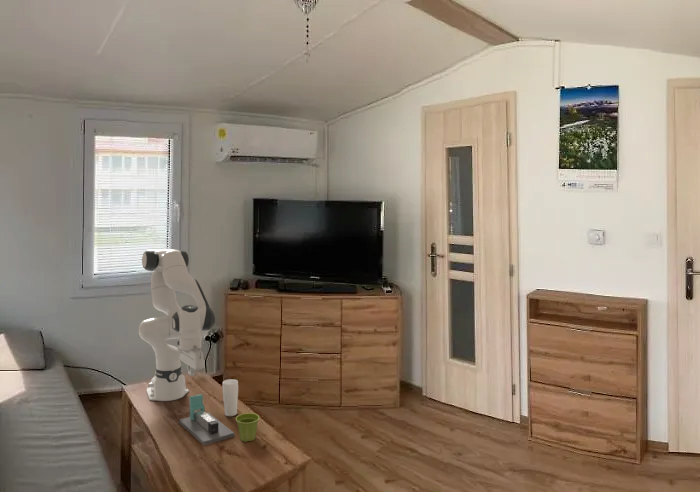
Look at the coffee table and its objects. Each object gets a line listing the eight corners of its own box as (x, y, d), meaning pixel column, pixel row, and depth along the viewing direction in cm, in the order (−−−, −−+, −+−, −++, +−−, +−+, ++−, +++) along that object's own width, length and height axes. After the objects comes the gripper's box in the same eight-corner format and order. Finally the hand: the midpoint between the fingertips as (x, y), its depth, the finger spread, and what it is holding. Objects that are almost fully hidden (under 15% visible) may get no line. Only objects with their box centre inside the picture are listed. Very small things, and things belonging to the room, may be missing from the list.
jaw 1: (195, 420, 230) (195, 411, 229) (199, 419, 231) (199, 410, 230) (211, 434, 217) (211, 424, 217) (215, 433, 218) (214, 423, 218)
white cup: (234, 418, 237) (234, 384, 235) (220, 416, 238) (219, 383, 237) (241, 412, 243) (240, 379, 242) (226, 410, 245) (226, 378, 243)
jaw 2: (199, 419, 231) (199, 410, 230) (202, 419, 231) (202, 409, 231) (215, 433, 218) (214, 423, 218) (218, 432, 219) (218, 422, 218)
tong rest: (179, 422, 231) (178, 412, 231) (208, 415, 239) (207, 405, 239) (203, 445, 211) (203, 434, 211) (234, 436, 219) (234, 425, 218)
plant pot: (264, 436, 220) (264, 415, 219) (250, 445, 211) (250, 424, 210) (245, 431, 223) (244, 411, 222) (231, 441, 215) (230, 420, 214)
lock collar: (189, 418, 232) (189, 396, 231) (202, 415, 235) (201, 393, 234) (192, 420, 229) (192, 398, 228) (204, 417, 233) (204, 395, 232)
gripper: (207, 347, 227) (208, 379, 228) (188, 337, 243) (189, 367, 244) (193, 350, 223) (193, 382, 224) (175, 340, 239) (176, 370, 240)
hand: (191, 374), depth 234 cm, fingers closed
